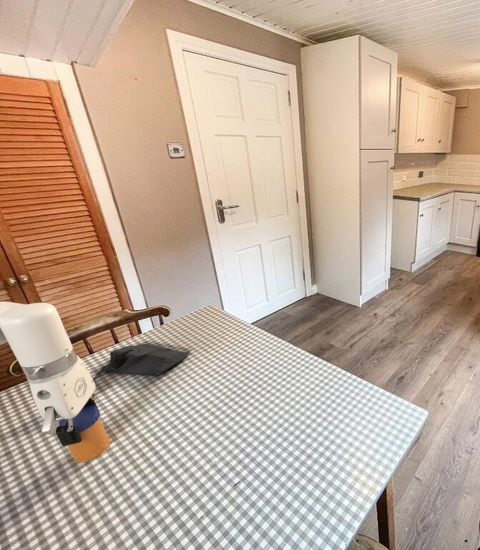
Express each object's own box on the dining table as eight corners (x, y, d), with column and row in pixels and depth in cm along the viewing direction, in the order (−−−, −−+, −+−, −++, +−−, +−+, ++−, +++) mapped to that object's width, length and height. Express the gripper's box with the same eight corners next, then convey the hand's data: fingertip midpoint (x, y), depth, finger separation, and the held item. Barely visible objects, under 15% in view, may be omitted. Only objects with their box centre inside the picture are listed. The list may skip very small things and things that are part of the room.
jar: (67, 466, 66) (50, 434, 62) (82, 441, 72) (67, 411, 68) (102, 457, 68) (88, 426, 64) (114, 434, 73) (102, 404, 70)
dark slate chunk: (155, 384, 89) (151, 371, 87) (97, 372, 94) (92, 360, 92) (194, 353, 103) (191, 341, 101) (142, 344, 108) (138, 333, 106)
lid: (49, 440, 62) (46, 435, 62) (68, 414, 69) (66, 409, 68) (91, 431, 64) (88, 426, 64) (106, 407, 71) (103, 401, 70)
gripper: (47, 388, 54) (82, 458, 61) (94, 336, 69) (118, 396, 76) (-8, 398, 52) (35, 469, 58) (54, 342, 67) (82, 404, 74)
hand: (82, 428), depth 67 cm, fingers closed on lid, 7 cm apart
